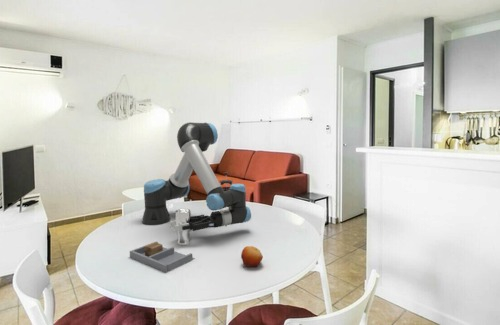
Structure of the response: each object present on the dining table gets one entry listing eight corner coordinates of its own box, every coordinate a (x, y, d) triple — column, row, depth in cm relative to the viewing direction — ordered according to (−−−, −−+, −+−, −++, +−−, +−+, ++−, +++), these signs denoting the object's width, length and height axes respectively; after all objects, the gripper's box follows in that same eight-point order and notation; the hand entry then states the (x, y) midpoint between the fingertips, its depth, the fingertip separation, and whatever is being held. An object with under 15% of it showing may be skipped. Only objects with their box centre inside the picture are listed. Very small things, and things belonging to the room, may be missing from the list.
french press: (234, 206, 195) (233, 173, 193) (220, 207, 194) (219, 173, 192) (233, 202, 207) (232, 170, 204) (219, 203, 206) (219, 171, 203)
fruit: (235, 257, 112) (246, 239, 112) (253, 266, 113) (263, 249, 113) (236, 267, 104) (247, 248, 104) (255, 276, 105) (266, 258, 105)
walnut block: (145, 255, 118) (144, 245, 118) (155, 251, 122) (154, 242, 122) (152, 258, 115) (151, 248, 115) (162, 253, 119) (162, 244, 119)
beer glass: (178, 247, 127) (177, 213, 125) (174, 241, 133) (173, 209, 131) (193, 244, 130) (192, 211, 128) (189, 239, 136) (188, 207, 134)
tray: (130, 258, 116) (129, 251, 116) (159, 247, 128) (159, 240, 127) (166, 274, 103) (165, 265, 103) (195, 259, 114) (195, 252, 114)
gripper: (229, 232, 131) (178, 241, 120) (213, 220, 148) (167, 228, 137) (228, 215, 130) (177, 224, 119) (212, 206, 147) (166, 213, 136)
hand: (172, 226), depth 128 cm, fingers closed on beer glass, 7 cm apart
